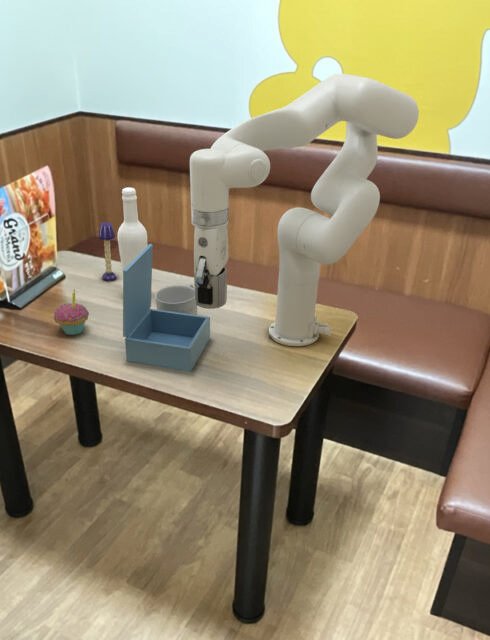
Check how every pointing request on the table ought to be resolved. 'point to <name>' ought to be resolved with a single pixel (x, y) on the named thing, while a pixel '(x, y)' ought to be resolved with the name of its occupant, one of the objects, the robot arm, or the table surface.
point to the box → (168, 339)
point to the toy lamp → (107, 249)
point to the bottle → (130, 230)
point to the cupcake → (71, 317)
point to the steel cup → (214, 289)
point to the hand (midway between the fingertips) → (210, 295)
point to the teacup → (177, 299)
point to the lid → (137, 289)
